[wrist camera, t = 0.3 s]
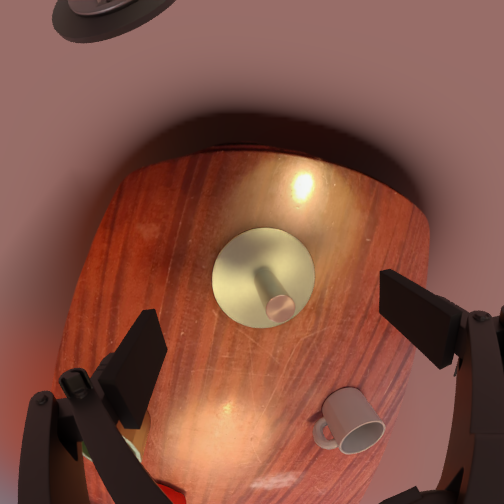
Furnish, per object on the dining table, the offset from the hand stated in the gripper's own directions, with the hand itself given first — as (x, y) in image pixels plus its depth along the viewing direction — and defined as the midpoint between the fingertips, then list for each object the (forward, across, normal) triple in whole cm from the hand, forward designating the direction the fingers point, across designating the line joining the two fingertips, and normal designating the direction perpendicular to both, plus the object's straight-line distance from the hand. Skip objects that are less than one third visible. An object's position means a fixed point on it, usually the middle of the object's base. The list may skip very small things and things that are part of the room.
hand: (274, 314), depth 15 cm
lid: (+18, +1, -4) cm, 18 cm away
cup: (+18, +9, -28) cm, 34 cm away
